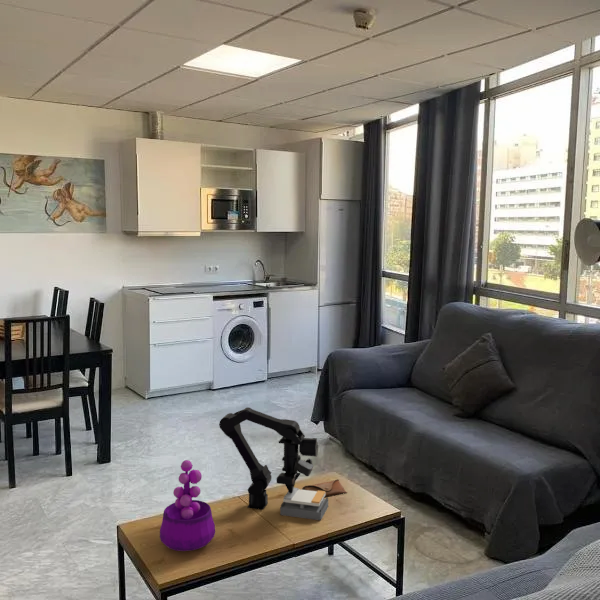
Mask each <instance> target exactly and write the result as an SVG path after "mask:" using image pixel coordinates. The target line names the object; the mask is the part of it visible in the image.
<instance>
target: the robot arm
mask: <svg viewBox="0 0 600 600" xmlns="http://www.w3.org/2000/svg"><path fill="white" fill-rule="evenodd" d="M245 421H247V422H251V423H254V424H257V425H259V426H262V427H265V428H268V429H270V430H273V431H275V432H276V433H278V435H279V436H281V438H280V439H279V440H278V444H283V457H282V458H281V461H282V462H283V467H282V468H281V471H282V472H281V473H279V474H278V475H277V477H276V484H279V485H280V484H281V485H284V486H285V487H286V490H287V492H288V491H289V493H292V492H293V489H294V488H295V486H296V485H295V484H296V481H297V480H298V478H299V477H300V476H301V474H302V475H304V476H305V477H309V476H310V475H311V473H312V470H313V469H314V463H313V459H311V458H307V459H306V460H305V459H304V460H302V459H301V457H302V456H303V457H306V456H307V457H315V458H316V457H318V453H319V445H318V438H315V437H312V438H311V437H310V438H309V437H308V438H307V437H305V434H304V432H303V431H302V429H301V428H300V427H301V426H300V424H299V422H297V421H296V420H291V419H285V418H284V419H282V418H277V417H275V416H271V415H269V414H266V413H264V412H261V411H258V410H255V409H252V408H251V407H245V408H243V409H242V410H238V411H236V412H234V413H232V412H229V413H227V414H225V416H223V417H222V418H221V419H220V420H219V425H218V427H219V428H220V430H221V431H222V433H223V434H224V435H225V436H226V437H228V438H229V439H230V440H231V441H232V442H233V444H234V446H235V447H236V449H237V452H239V455H240V457H241V458H242V460H243V462H244V463H245V465H246V467H247V469H248V470H249V474H250V480H251V482H252V483H251V484H250V485H249V487H248V488H247V492H248V504H247V509H253V510H260V511H262V510H264V509H265V508H266V506H268V504H269V501H268V499H269V498H268V495H269V494H268V493H267V488H268V486H269V485H270V483H271V482H272V472H271V471H270V469H269V467H268V465H267V464H264V465H262V464H261V463H260V461H259V460H258V458H257V457H256V455H255V453H254V452H253V450H252V448H251V446H250V444H249V443H248V441H247V439H246V438H245V436H244V434H243V432H242V428H241V423H243V422H245ZM299 453H300V455H299Z"/></svg>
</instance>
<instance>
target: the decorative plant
mask: <svg viewBox="0 0 600 600" xmlns="http://www.w3.org/2000/svg"><path fill="white" fill-rule="evenodd" d="M192 468H193V463H192V461H190V460H188V459H185V460H184V461H182V462H181V465H180V469H181V470H182V472H181V473H180V474H179V476H178V482H179V483H180V484H182V485H183V487H182V486H177V487H175V488H174V490H173V496H174V497H175V498H176V499H175V502H173V503H171V504H169V505H168V506H166V508H164V510H163V514H162V520H161V525H160V529H159V539H160V542H161V543H163V544H164V546H165V547H167V548H168V549H170V550H173V551H178V552H179V551H180V552H186V551H187V552H188V551H195V550H199V549H201V548H203V547H205V546H207V545H208V544H209V543H210V542H211V541H212V540H213V539H214V537H215V535H216V525H215V522H214V519H213V514H212V508H211V506H210V504H208V503H207V502H204V501H203V500H196V499H193V498H198V497H199V496H200V494H201V488H200V487H199V486H197V484H198V483H200V482H201V481H202V476H203V475H202V472H201V471H200V470H198V469H192ZM191 484H193V485H192V486H191ZM195 484H196V485H195Z"/></svg>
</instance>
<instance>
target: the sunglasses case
mask: <svg viewBox="0 0 600 600" xmlns="http://www.w3.org/2000/svg"><path fill="white" fill-rule="evenodd" d="M301 490H309V491H318V490H319V491H325V492H326V495H325V497H324V498H328V497H333V496H338V495H343V493H344V494H347V493H348V492H347V491H346V490H345V489H344V486H343V485H342V483H341V482H340V479H335V480H331V481H324V482H320V483H319V482H318V483H315V484H310V485H305V486H303V487H301Z"/></svg>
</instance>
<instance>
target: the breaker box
mask: <svg viewBox="0 0 600 600" xmlns="http://www.w3.org/2000/svg"><path fill="white" fill-rule="evenodd" d="M328 508H329V498H328V497H325V498H323V500H322V502H321V504H320V506H312V505H304V504H296V503H288V502H283V501H282V503H281V505H280V509H279V510H280V516H286V517H287V516H288V517H293V518H294V517H295V518H302V519H309V520H316V521H322V519H323V517H324V515H325V514H326V513H327V512H326V511H327V510H328Z"/></svg>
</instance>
